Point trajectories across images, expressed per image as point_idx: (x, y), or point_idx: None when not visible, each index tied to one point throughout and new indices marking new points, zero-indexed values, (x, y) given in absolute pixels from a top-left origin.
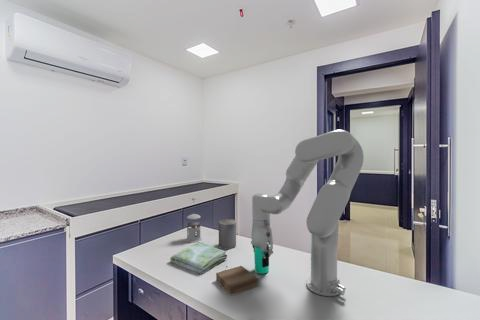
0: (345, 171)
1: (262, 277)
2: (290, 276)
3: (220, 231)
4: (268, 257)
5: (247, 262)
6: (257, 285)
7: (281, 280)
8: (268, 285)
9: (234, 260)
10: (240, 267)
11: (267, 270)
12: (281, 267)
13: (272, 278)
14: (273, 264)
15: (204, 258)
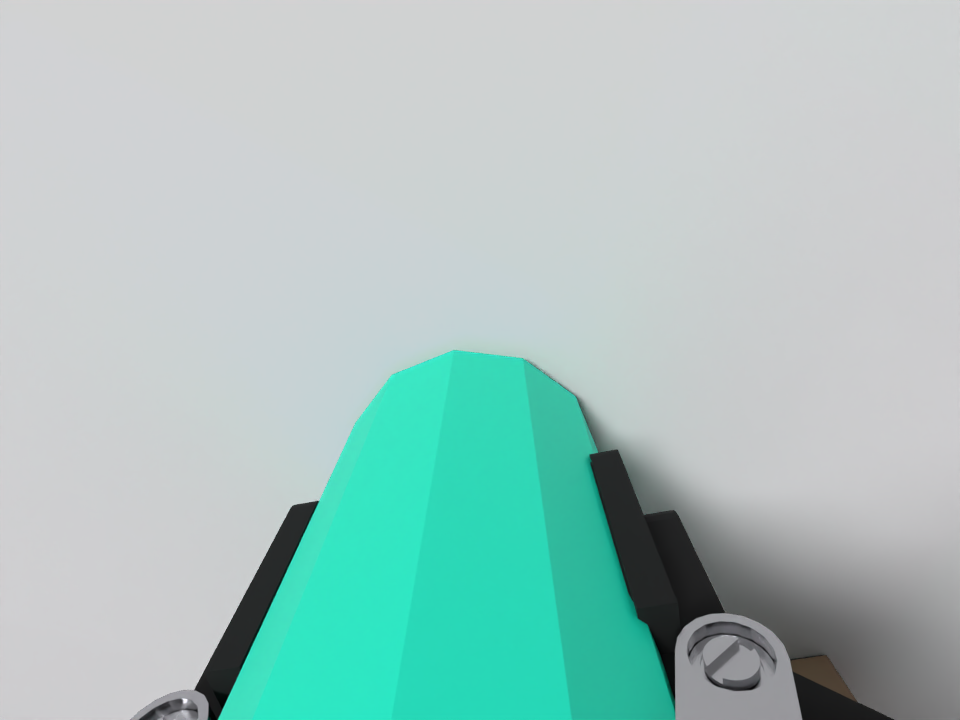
0: None
1: None
2: (898, 27)
3: None
4: (670, 594)
5: (112, 550)
6: (827, 662)
7: (907, 288)
8: (900, 536)
9: (14, 691)
10: None
11: (584, 421)
12: (474, 5)
13: (769, 400)
14: (288, 120)
15: None
